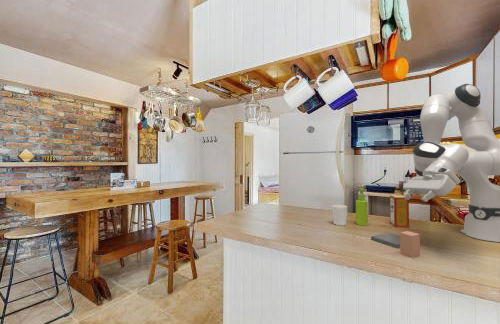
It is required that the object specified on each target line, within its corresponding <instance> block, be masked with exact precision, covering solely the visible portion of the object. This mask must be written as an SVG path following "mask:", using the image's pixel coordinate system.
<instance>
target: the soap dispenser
mask: <svg viewBox="0 0 500 324" xmlns="http://www.w3.org/2000/svg"><path fill="white" fill-rule="evenodd" d="M356 190H359V193H358V194H357V199H356V200H355V224H356V225H357V226H362V227H363V226H365V227H366V226H367V227H368V225H369V221H368V220H369V219H368V218H369V217H368V202H369V201H368V200H366V194H364V191H365V187H364V188H363V187H356Z"/></svg>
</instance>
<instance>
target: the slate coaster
mask: <svg viewBox="0 0 500 324" xmlns="http://www.w3.org/2000/svg"><path fill="white" fill-rule="evenodd" d="M370 239H371V241H374V242H377V243H380V244H383V245H385V246H390V247H393V248H396V249H400V234H397V233H392V232H385V233H381V234H375V235H371V238H370Z"/></svg>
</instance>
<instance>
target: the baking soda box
mask: <svg viewBox="0 0 500 324" xmlns="http://www.w3.org/2000/svg"><path fill="white" fill-rule="evenodd" d="M409 202H410V199H409V200H406V199H405V198H404V195H403V194H402V195H401V194H400V195H399V194H389V222H390V224H391V225H392V226H393V227H394V228H404V229H409V228H410V203H409Z"/></svg>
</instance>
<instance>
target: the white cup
mask: <svg viewBox="0 0 500 324" xmlns="http://www.w3.org/2000/svg"><path fill="white" fill-rule="evenodd" d="M331 209H332V210H331V211H332V219H333V220H332V222H333V225H335V224H336V226H347V217H348V216H347V215H348V206H347V205H345V204H344V205H343V204H332V206H331Z"/></svg>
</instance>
